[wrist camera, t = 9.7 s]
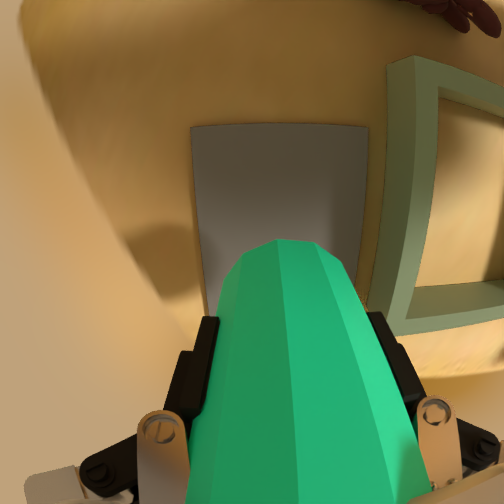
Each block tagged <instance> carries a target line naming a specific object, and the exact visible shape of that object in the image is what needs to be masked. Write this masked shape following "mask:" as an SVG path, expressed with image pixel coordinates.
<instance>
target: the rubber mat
mask: <svg viewBox="0 0 504 504" xmlns="http://www.w3.org/2000/svg"><path fill="white" fill-rule="evenodd" d="M190 130H191V146H192V160H193V173H194V185H195V197H196V208H197V218H198V228H199V237H200V246H201V255H202V264H203V272H204V280H205V287H206V295H207V302H208V310H209V316H215V315H216V311H217V306H218V302H219V298H220V293H221V289H222V284H223V280H224V278H225V277H226V276H227V274H228V273H229V272H230V270H231V269H232V267H233V266H234V265H235V263H236V262H237V261H238V259H239V258H240V257H241V255H242V254H243V253H245V252H247V251H250V250H252V249H254V248H257V247H259V246H261V245H264V244H266V243H269V242H271V241H273V240H276V239H284V240H295V241H307V242H314V243H316V244H317V245H319V246H320V247H322V248H323V249H324V250H326V251H327V252H329V253H330V254H331V255H333V256H334V257H336V258H337V259H338V260H340V261H341V263H342V265H343V267H344V269H345V271H346V273H347V275H348V277H349V279H350V281H351V283H352V285H353V287H354V285H355V278H356V272H357V265H358V258H359V251H360V243H361V234H362V225H363V216H364V205H365V193H366V179H367V160H368V127H358V126H346V125H331V124H308V123H251V124H228V125H213V126H200V127H190Z"/></svg>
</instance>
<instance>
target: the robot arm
mask: <svg viewBox="0 0 504 504" xmlns="http://www.w3.org/2000/svg"><path fill="white" fill-rule="evenodd" d="M366 314H367V316H368V319H369V321H370V323H371V325H372V327H373V330H374V332H375V334H376V336H377V339H378V341H379V343H380V346H381V348H382V350H383V353H384V355H385V357H386V360H387V362H388V364H389V367H390V369H391V372H392V374H393V377H394V379H395V382H396V384H397V387H398V389H399V392H400V394H401V397H402V400H403V402H404V405H405V408H406V410H407V413H408V416H409V419H410V422H411V424H412V427H413V430H414V433H415V436H416V439H417V442H418V445H419V448H420V451H421V454H422V457H423V461H424V464H425V467H426V470H427V474H428V477H429V481H430V484H431V488H432V492H429V493H427V494H424V495H421V496H418V497H415V498H412V499H410V500H409V501H408V502H407V503H406V504H504V440H502V441H501V442H499V441H498V439H497V437H496V436H495V435H494V434H492V433H491V432H488V431H486V430H483V429H481V428H479V427H476V426H474V425H472V424H469V423H467V422H465V421H463V420H461V419H458V418H456V414H455V410H454V407H453V405H452V404H451V402H450V401H449V400H447V399H446V398H444V397H442V396H438V395H431V396H427V395H426V393H425V391H424V388H423V386H422V384H421V382H420V380H419V378H418V375H417V373H416V371H415V369H414V367H413V365H412V363H411V361H410V359H409V357H408V355H407V353H406V351H405V349H404V347H403V345H402V344H400V343H397V341H396V339H395V337H394V335H393V333H392V331H391V329H390V327H389V325H388V323H387V321H386V319H385V317H384V315H383V313H382V312H381V311H376V312H366ZM219 325H220V320H219V317H218V316H203V317H202V320H201V324H200V327H199V331H198V335H197V338H196V342H195V346H194V349H193V351H181V353H180V355H179V358H178V362H177V365H176V368H175V371H174V374H173V378H172V381H171V384H170V388H169V391H168V394H167V398H166V401H165V404H164V408H163V410H157V411H152V412H150V413H148V414H146V415H145V416H144V417H143V418H142V419H141V420H140V422H139V424H138V428H137V433H136V434H135V435H133V436H131V437H129V438H127V439H125V440H123V441H121V442H119V443H117V444H114V445H113V446H110V447H108V448H106V449H104V450H102V451H100V452H98V453H95V454H93V455H91V456H89V457H88V458H86V459H85V460H84V461H83V462H82V463H81V466H78V467H75V466H74V465H72V466H68V467H64V468H61V469H56V470H52V471H48V472H44V473H39V474H34V475H32V476H29V477H28V478H27V480H26V481H25V484H24V492H25V496H26V500H27V504H185V499H186V493H187V487H188V481H189V476H190V458H189V438H190V433H191V428H192V423H193V420H194V419H195V418H196V417H197V416H198V415H200V413H201V408H202V406H203V405H204V402H205V399H206V394H207V389H208V383H209V378H210V372H211V367H212V362H213V356H214V351H215V346H216V341H217V335H218V330H219Z"/></svg>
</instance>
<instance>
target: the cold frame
mask: <svg viewBox="0 0 504 504" xmlns="http://www.w3.org/2000/svg"><path fill="white" fill-rule="evenodd" d="M386 76H387V150H386V168H385V182H384V194H383V204H382V213H381V222H380V229H379V237H378V244H377V250H376V257H375V263H374V269H373V274H372V280H371V285H370V290H369V295H368V300H367V305H366V306H367V308H368V310H369V312H376V311H381V312H382V313H383V315H384V317H385V319H386V321H387V323H388V325H389V327H390V329H391V331H392V333H393V335H394V337H395V336H404V335H411V334H419V333H426V332H433V331H439V330H445V329H451V328H457V327H462V326H468V325H473V324H478V323H483V322H487V321H492V320H497V319H501V318H504V279H503V280H493V281H484V282H474V283H463V284H451V285H439V286H425V287H415V283H416V279H417V275H418V271H419V267H420V263H421V258H422V254H423V249H424V244H425V239H426V234H427V229H428V223H429V217H430V211H431V204H432V197H433V189H434V180H435V170H436V158H437V141H438V97H440V98H444V99H447V100H451V101H454V102H458V103H461V104H464V105H468V106H471V107H474V108H477V109H480V110H483V111H485V112H488V113H491V114H494V115H496V116H499V117H501V118H504V87H502V86H499V85H497V84H495V83H493V82H491V81H488V80H486V79H484V78H481V77H479V76H476V75H474V74H471V73H469V72H466V71H463V70H461V69H458V68H455V67H452V66H449V65H446V64H443V63H440V62H437V61H434V60H430V59H427V58H423V57H420V56H416V55H412V56H409V57H407V58H404V59H401V60H399V61H396V62H393V63H391V64H388V65H386Z"/></svg>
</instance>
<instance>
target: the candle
mask: <svg viewBox="0 0 504 504" xmlns="http://www.w3.org/2000/svg"><path fill="white" fill-rule="evenodd" d="M215 316H218V317H219V320H220V325H219V330H218V335H217V341H216V346H215V351H214V356H213V362H212V367H211V372H210V378H209V383H208V389H207V394H206V399H205V402H204V405H203V406H202V408H201V413H200V415H198V416H197V417H196V418H195V419H194V420H193V423H192V428H191V433H190V438H189V458H190V476H189V481H188V487H187V493H186V499H185V504H406V503H407V502H408V501H409V500H410V499H412V498H415V497H418V496H421V495H424V494H427V493H429V492H432V488H431V484H430V481H429V477H428V474H427V470H426V467H425V464H424V461H423V457H422V454H421V451H420V448H419V445H418V442H417V439H416V436H415V433H414V430H413V427H412V424H411V422H410V419H409V416H408V413H407V410H406V408H405V405H404V402H403V400H402V397H401V394H400V392H399V389H398V387H397V384H396V382H395V379H394V377H393V374H392V372H391V369H390V367H389V364H388V362H387V360H386V357H385V355H384V353H383V350H382V348H381V346H380V343H379V341H378V339H377V336H376V334H375V332H374V330H373V327H372V325H371V323H370V321H369V319H368V316H367V314H366V312H365V310H364V308H363V306H362V304H361V301H360V299H359V297H358V295H357V293H356V291H355V289H354V287H353V285H352V283H351V281H350V279H349V277H348V275H347V273H346V271H345V269H344V267H343V265H342V263H341V261H340V260H338V259H337V258H336V257H334V256H333V255H331V254H330V253H329V252H327V251H326V250H324V249H323V248H322V247H320V246H319V245H317V244H316V243H314V242H307V241H295V240H284V239H276V240H273V241H271V242H269V243H266V244H264V245H261V246H259V247H257V248H254V249H252V250H250V251H247V252H245V253H243V254H242V255H241V257H240V258H239V259H238V261H237V262H236V263H235V265H234V266H233V267H232V269H231V270H230V272H229V273H228V274H227V276H226V277H225V278H224V280H223V284H222V289H221V293H220V298H219V302H218V306H217V311H216V315H215Z"/></svg>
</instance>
